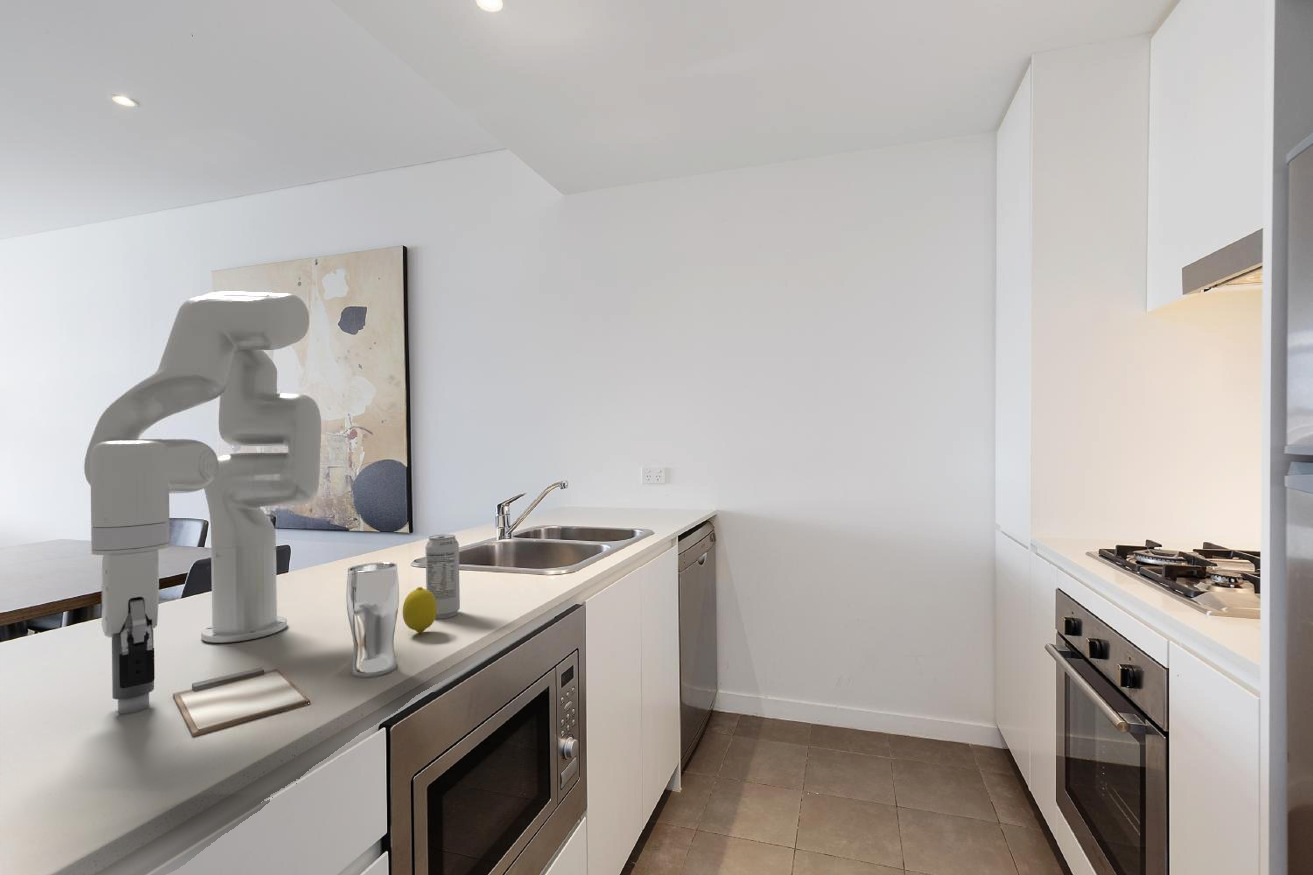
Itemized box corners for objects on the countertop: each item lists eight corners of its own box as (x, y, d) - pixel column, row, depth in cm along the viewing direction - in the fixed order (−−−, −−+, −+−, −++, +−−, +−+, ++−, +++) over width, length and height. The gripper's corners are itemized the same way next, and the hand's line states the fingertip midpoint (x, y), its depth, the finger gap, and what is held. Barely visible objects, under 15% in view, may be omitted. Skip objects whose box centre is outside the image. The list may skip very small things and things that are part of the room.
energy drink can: (463, 610, 120) (462, 533, 120) (454, 618, 114) (452, 538, 114) (433, 610, 120) (432, 534, 120) (421, 619, 114) (420, 539, 114)
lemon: (442, 628, 108) (442, 583, 109) (428, 638, 103) (427, 591, 103) (412, 628, 109) (412, 583, 109) (396, 638, 104) (395, 590, 104)
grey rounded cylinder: (110, 708, 77) (109, 613, 77) (152, 698, 80) (151, 606, 80) (113, 718, 74) (112, 619, 74) (156, 708, 77) (155, 612, 77)
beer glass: (366, 682, 84) (364, 573, 84) (337, 673, 88) (335, 568, 88) (410, 666, 90) (408, 564, 90) (381, 658, 94) (379, 560, 94)
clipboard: (172, 696, 81) (172, 687, 81) (277, 671, 89) (277, 662, 89) (192, 736, 69) (192, 725, 69) (310, 703, 78) (310, 693, 78)
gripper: (88, 535, 81) (89, 665, 81) (94, 550, 69) (96, 703, 68) (161, 528, 86) (162, 650, 86) (179, 541, 74) (181, 684, 74)
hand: (133, 674), depth 77 cm, fingers open, 9 cm apart
